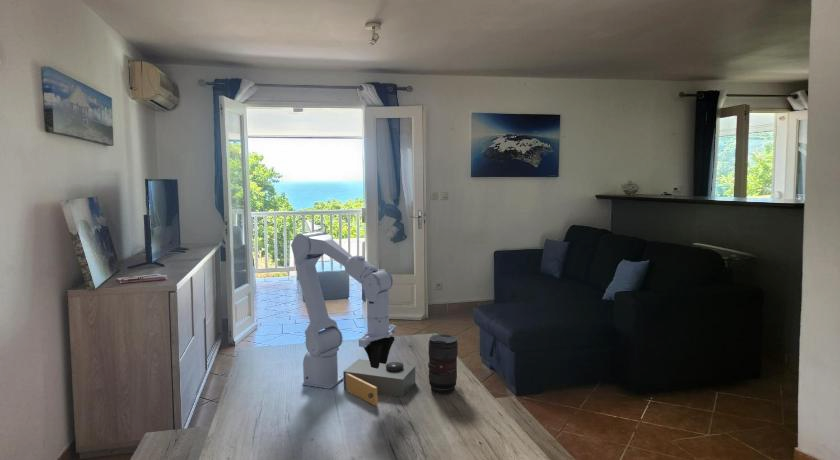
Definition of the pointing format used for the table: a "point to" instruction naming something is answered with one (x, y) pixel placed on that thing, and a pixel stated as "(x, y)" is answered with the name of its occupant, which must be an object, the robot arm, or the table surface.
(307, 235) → the robot arm
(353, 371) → the camera housing
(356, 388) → the side door
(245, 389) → the table surface
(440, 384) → the camera lens
